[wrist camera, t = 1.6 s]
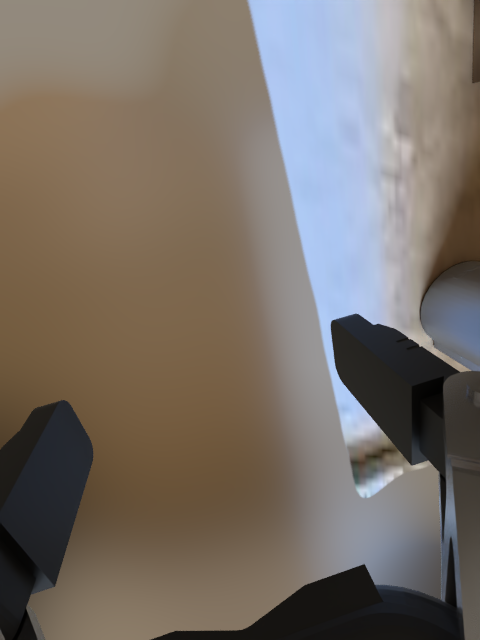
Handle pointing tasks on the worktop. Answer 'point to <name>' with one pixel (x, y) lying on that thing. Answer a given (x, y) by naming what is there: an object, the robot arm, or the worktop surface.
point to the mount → (476, 42)
